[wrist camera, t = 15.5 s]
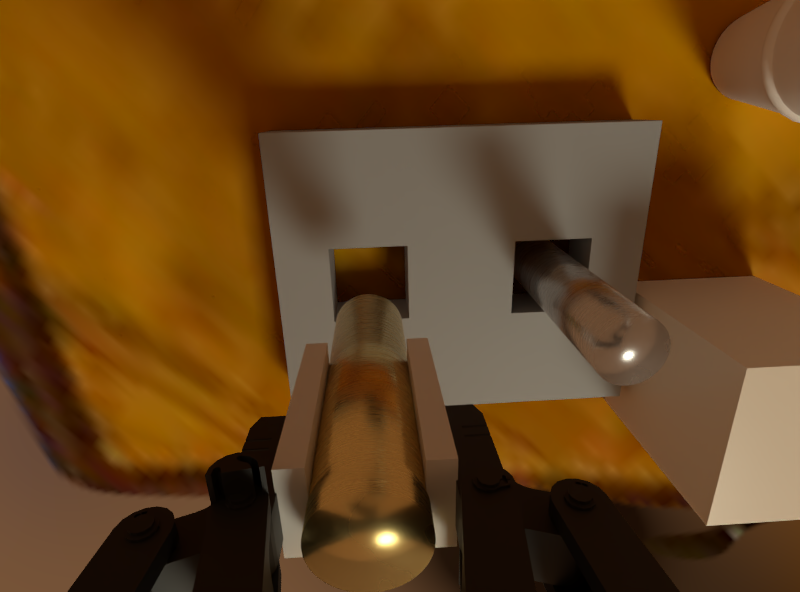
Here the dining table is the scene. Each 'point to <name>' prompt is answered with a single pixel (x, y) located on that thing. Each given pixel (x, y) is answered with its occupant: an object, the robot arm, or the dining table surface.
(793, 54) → the soft serve ice cream cone
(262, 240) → the dining table surface
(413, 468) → the brass pin
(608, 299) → the steel pin
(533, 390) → the socket board
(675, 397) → the block
